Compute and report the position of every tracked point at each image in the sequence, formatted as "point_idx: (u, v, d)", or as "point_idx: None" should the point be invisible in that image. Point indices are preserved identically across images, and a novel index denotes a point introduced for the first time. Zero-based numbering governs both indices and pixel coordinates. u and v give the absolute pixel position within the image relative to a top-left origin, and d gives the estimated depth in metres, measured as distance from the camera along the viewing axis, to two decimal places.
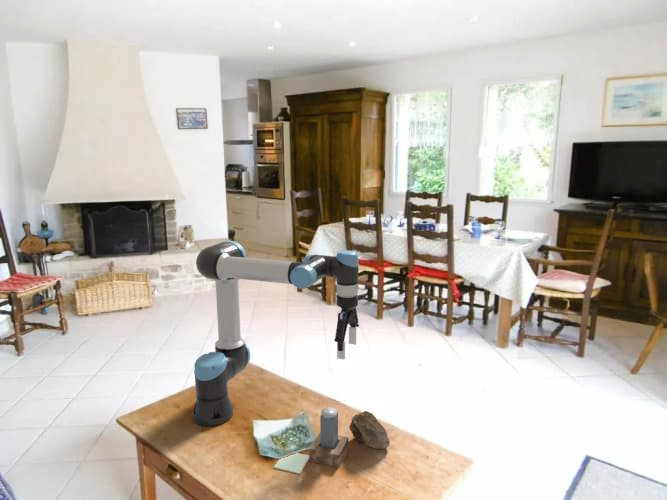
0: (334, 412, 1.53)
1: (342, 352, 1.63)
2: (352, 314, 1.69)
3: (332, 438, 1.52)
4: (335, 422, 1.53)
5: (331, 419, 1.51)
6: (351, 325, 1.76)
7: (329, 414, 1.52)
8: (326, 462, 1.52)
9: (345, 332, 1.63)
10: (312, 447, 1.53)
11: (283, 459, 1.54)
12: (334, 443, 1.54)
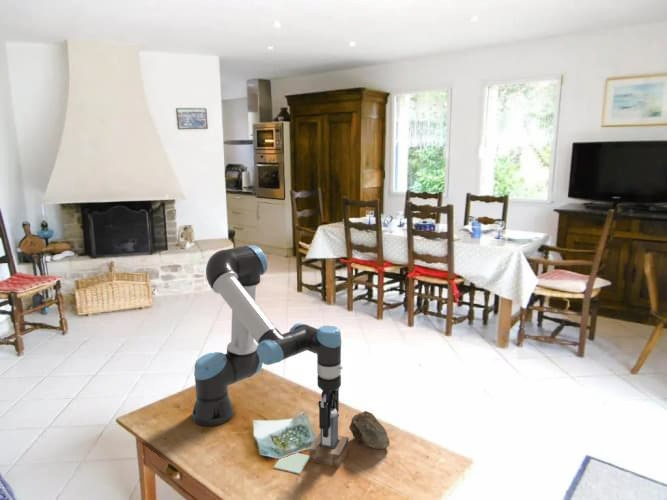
0: (334, 412, 1.53)
1: (327, 438, 1.52)
2: (334, 395, 1.53)
3: (332, 438, 1.52)
4: (335, 422, 1.53)
5: (331, 419, 1.51)
6: None
7: None
8: (326, 462, 1.52)
9: (329, 417, 1.51)
10: (312, 447, 1.53)
11: (283, 459, 1.54)
12: (334, 443, 1.54)
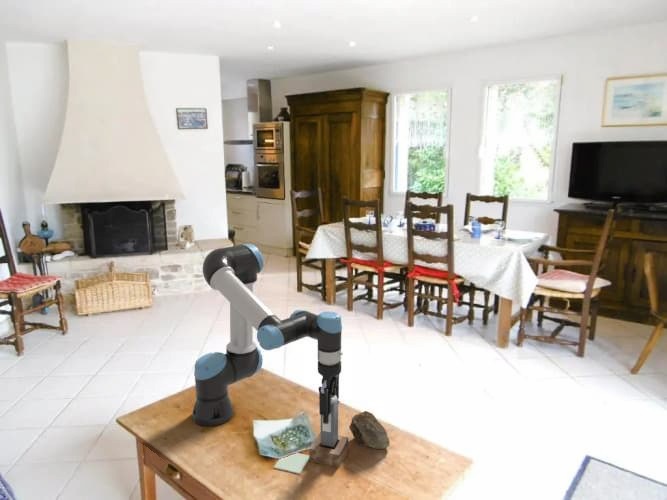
0: (334, 398, 1.52)
1: (328, 424, 1.52)
2: (334, 382, 1.52)
3: (332, 424, 1.52)
4: (335, 408, 1.53)
5: (331, 405, 1.51)
6: None
7: None
8: (326, 462, 1.52)
9: (330, 403, 1.50)
10: (312, 447, 1.53)
11: (283, 459, 1.54)
12: (334, 430, 1.53)
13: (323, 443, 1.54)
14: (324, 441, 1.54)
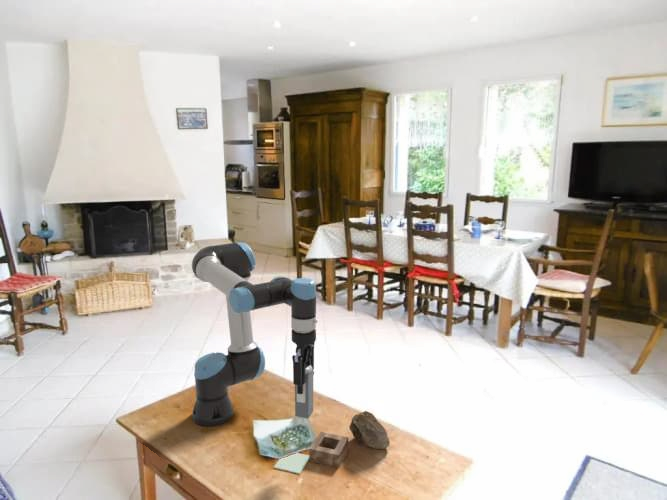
0: (309, 368, 1.47)
1: (302, 395, 1.47)
2: (309, 351, 1.47)
3: (307, 395, 1.47)
4: (310, 379, 1.48)
5: (305, 375, 1.46)
6: None
7: None
8: (326, 462, 1.52)
9: (304, 373, 1.45)
10: (312, 447, 1.53)
11: (283, 459, 1.54)
12: (309, 401, 1.49)
13: (298, 415, 1.50)
14: (298, 413, 1.49)
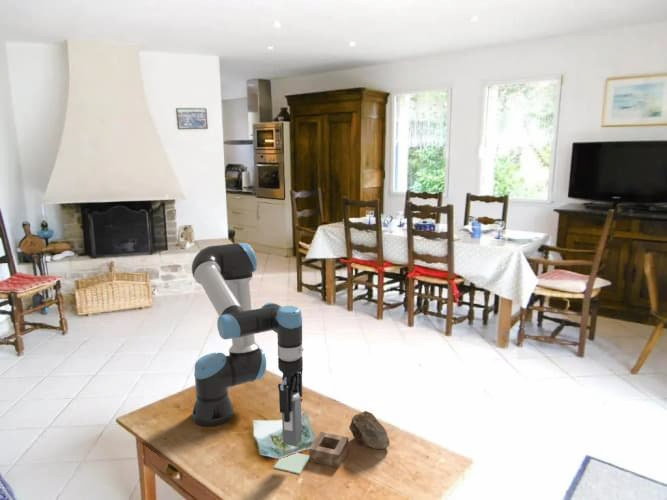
0: (296, 396, 1.47)
1: (289, 423, 1.47)
2: (296, 379, 1.47)
3: (294, 423, 1.47)
4: (297, 406, 1.48)
5: (292, 403, 1.46)
6: None
7: None
8: (326, 462, 1.52)
9: (291, 400, 1.45)
10: (312, 447, 1.53)
11: (283, 459, 1.54)
12: (297, 428, 1.49)
13: (285, 442, 1.50)
14: (286, 440, 1.49)
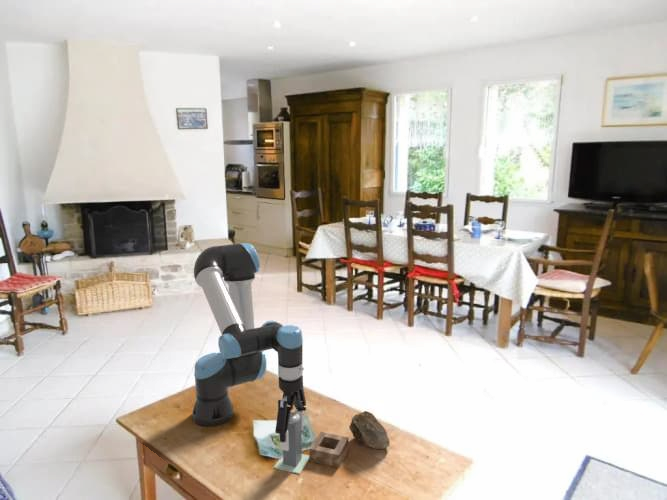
0: (296, 417, 1.49)
1: (285, 443, 1.45)
2: (297, 396, 1.49)
3: (294, 444, 1.49)
4: (297, 427, 1.49)
5: (292, 424, 1.47)
6: (297, 408, 1.56)
7: (291, 419, 1.48)
8: (326, 462, 1.52)
9: (288, 420, 1.44)
10: (312, 447, 1.53)
11: None
12: (297, 449, 1.50)
13: (285, 463, 1.51)
14: (286, 461, 1.51)
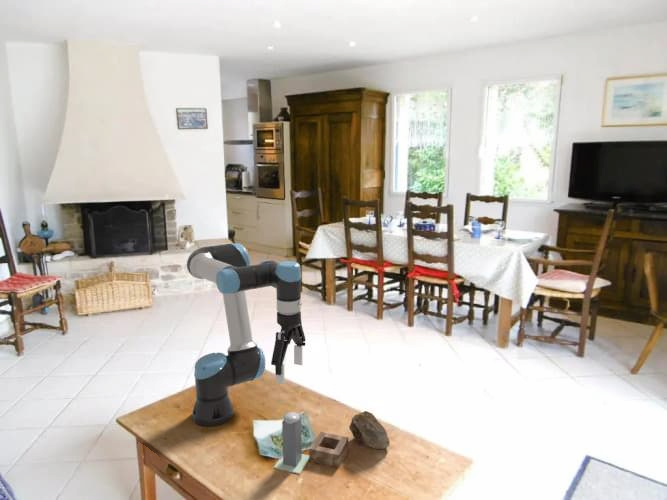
0: (296, 417, 1.49)
1: (281, 376, 1.45)
2: (295, 332, 1.50)
3: (294, 444, 1.49)
4: (297, 427, 1.49)
5: (292, 424, 1.47)
6: (297, 344, 1.57)
7: (291, 419, 1.48)
8: (326, 462, 1.52)
9: (284, 354, 1.45)
10: (312, 447, 1.53)
11: None
12: (297, 449, 1.50)
13: (285, 463, 1.51)
14: (286, 461, 1.51)
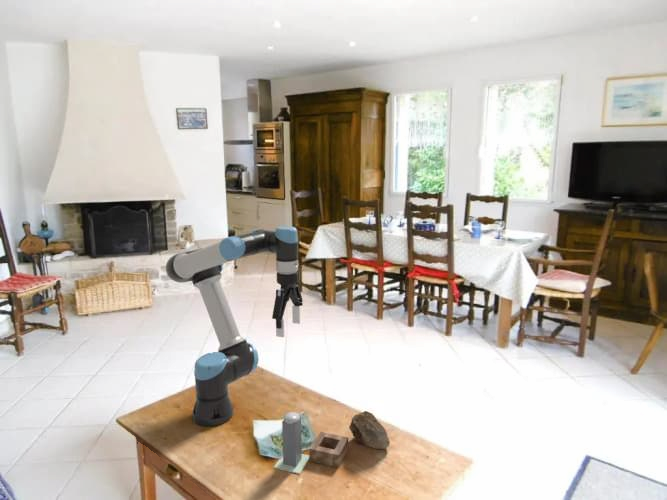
0: (296, 417, 1.49)
1: (281, 330, 1.60)
2: (293, 292, 1.66)
3: (294, 444, 1.49)
4: (297, 427, 1.49)
5: (292, 424, 1.47)
6: (295, 304, 1.73)
7: (291, 419, 1.48)
8: (326, 462, 1.52)
9: (284, 309, 1.60)
10: (312, 447, 1.53)
11: None
12: (297, 449, 1.50)
13: (285, 463, 1.51)
14: (286, 461, 1.51)
